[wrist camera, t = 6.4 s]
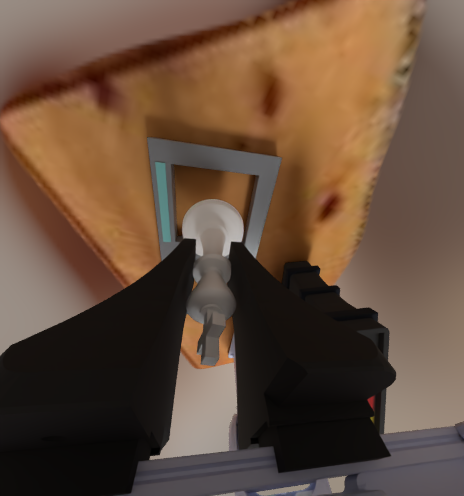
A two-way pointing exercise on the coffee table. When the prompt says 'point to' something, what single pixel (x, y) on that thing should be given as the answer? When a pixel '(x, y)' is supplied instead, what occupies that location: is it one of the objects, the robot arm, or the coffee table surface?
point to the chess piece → (212, 270)
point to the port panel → (214, 158)
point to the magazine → (339, 317)
